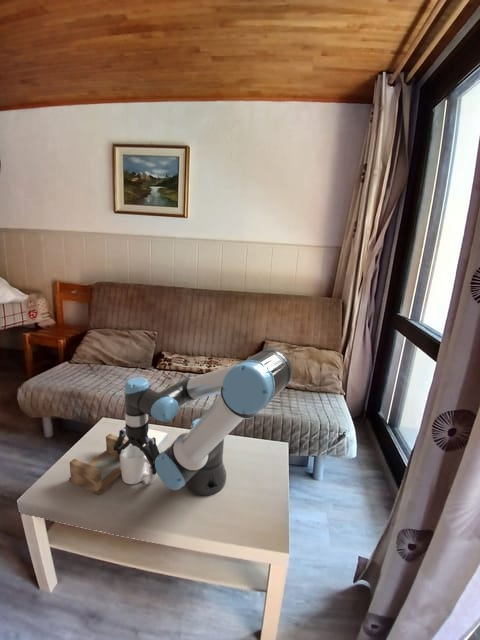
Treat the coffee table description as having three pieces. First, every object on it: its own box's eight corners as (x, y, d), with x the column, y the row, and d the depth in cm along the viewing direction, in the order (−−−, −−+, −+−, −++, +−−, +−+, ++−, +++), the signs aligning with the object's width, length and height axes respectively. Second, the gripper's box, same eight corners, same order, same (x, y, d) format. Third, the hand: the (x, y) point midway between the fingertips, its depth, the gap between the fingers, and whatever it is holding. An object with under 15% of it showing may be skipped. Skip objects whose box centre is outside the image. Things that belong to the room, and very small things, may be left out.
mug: (146, 490, 105) (145, 464, 103) (116, 481, 109) (115, 455, 106) (159, 473, 113) (159, 448, 111) (131, 465, 117) (130, 440, 114)
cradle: (136, 461, 118) (136, 443, 116) (99, 495, 102) (98, 474, 100) (108, 450, 123) (107, 433, 121) (69, 481, 107) (67, 461, 105)
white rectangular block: (167, 438, 134) (167, 432, 133) (151, 459, 120) (151, 453, 120) (147, 433, 136) (147, 428, 135) (128, 453, 123) (128, 447, 122)
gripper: (173, 426, 104) (172, 478, 110) (117, 407, 113) (118, 456, 118) (160, 438, 98) (159, 493, 103) (101, 417, 106) (103, 469, 112)
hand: (137, 473), depth 111 cm, fingers open, 12 cm apart
